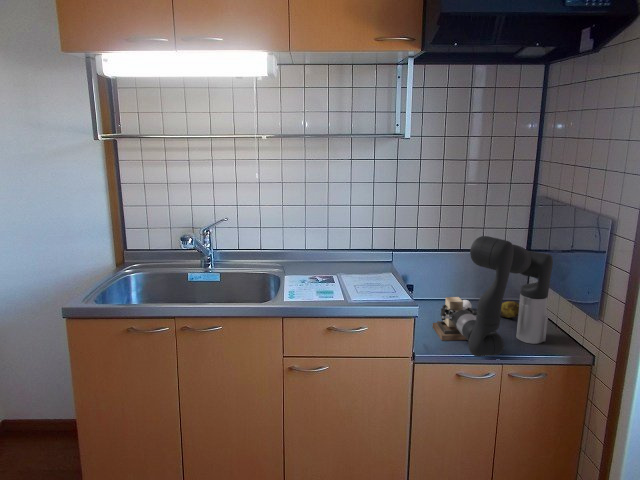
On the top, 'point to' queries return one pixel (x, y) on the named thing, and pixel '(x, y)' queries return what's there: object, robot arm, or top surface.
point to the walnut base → (447, 332)
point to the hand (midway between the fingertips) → (451, 306)
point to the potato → (509, 309)
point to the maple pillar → (453, 307)
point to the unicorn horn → (466, 304)
